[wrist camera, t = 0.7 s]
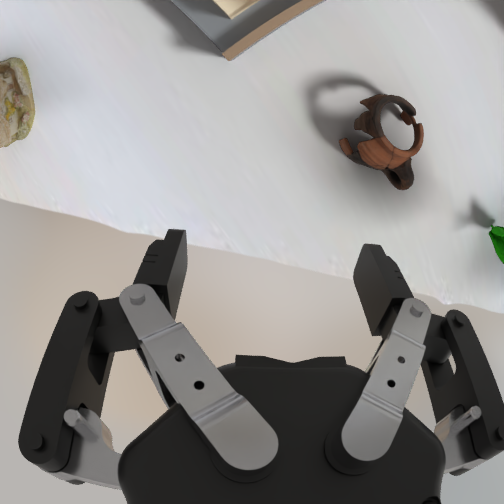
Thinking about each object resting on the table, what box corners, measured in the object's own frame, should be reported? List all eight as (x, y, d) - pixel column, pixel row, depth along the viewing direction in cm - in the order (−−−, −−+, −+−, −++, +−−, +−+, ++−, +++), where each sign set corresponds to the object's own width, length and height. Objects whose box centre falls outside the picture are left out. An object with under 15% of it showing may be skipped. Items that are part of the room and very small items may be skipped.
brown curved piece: (318, 125, 35) (352, 108, 27) (366, 94, 35) (403, 76, 27) (369, 204, 38) (409, 206, 30) (410, 167, 38) (451, 163, 30)
